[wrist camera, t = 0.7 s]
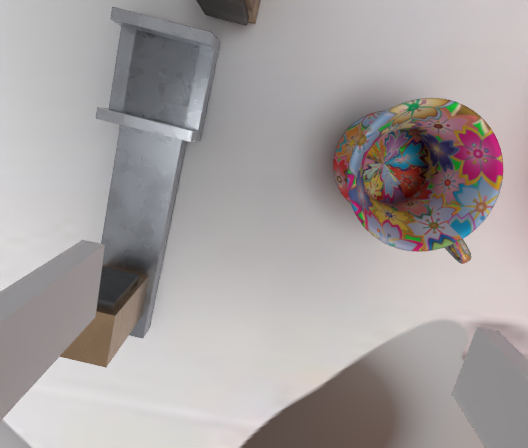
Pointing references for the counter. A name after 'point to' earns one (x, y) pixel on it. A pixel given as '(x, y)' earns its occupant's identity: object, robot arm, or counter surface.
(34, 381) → the robot arm
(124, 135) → the rail
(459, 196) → the mug
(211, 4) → the block
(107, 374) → the counter surface
